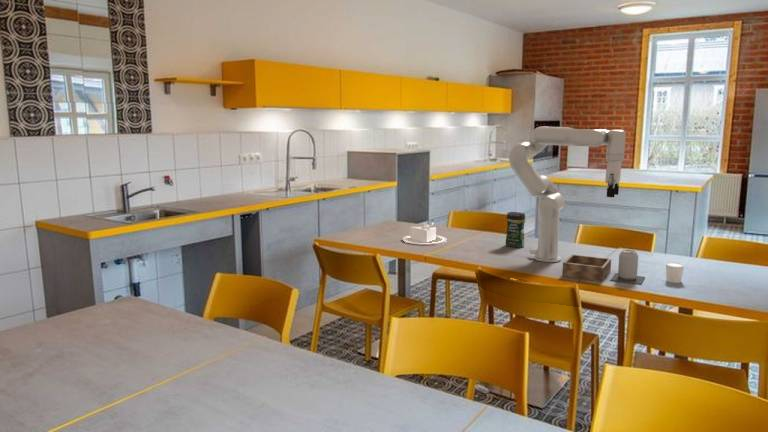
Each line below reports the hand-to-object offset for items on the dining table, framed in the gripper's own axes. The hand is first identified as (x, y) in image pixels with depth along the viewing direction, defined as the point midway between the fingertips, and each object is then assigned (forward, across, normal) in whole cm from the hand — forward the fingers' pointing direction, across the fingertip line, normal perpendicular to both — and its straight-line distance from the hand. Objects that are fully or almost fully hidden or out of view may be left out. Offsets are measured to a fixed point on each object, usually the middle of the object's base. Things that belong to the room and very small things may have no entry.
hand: (612, 195), depth 258 cm
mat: (+33, +17, +11) cm, 39 cm away
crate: (+33, +17, -6) cm, 38 cm away
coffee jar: (+34, -20, -51) cm, 64 cm away
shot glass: (+33, +10, +28) cm, 45 cm away
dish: (+34, -9, -100) cm, 106 cm away
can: (+33, +17, +11) cm, 38 cm away
